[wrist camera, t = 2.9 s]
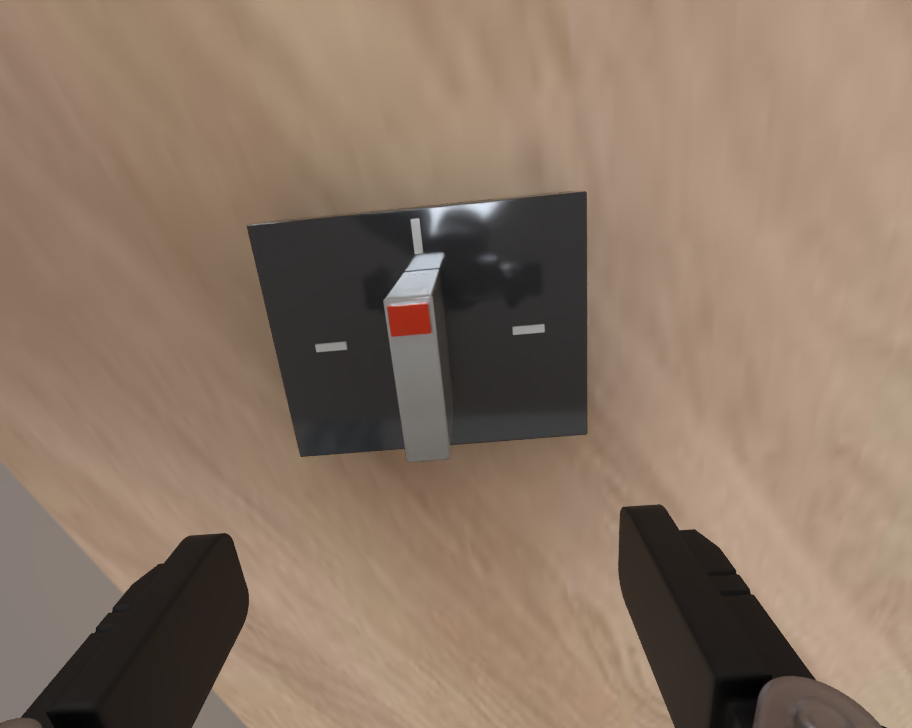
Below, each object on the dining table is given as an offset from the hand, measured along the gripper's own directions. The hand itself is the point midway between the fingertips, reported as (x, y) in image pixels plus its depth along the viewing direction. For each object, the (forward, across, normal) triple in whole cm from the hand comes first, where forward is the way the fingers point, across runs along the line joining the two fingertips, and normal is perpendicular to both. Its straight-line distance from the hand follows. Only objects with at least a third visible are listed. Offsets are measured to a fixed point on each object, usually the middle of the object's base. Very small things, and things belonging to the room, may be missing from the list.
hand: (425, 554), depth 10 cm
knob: (+12, +1, -1) cm, 13 cm away
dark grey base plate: (+15, +1, -1) cm, 16 cm away
